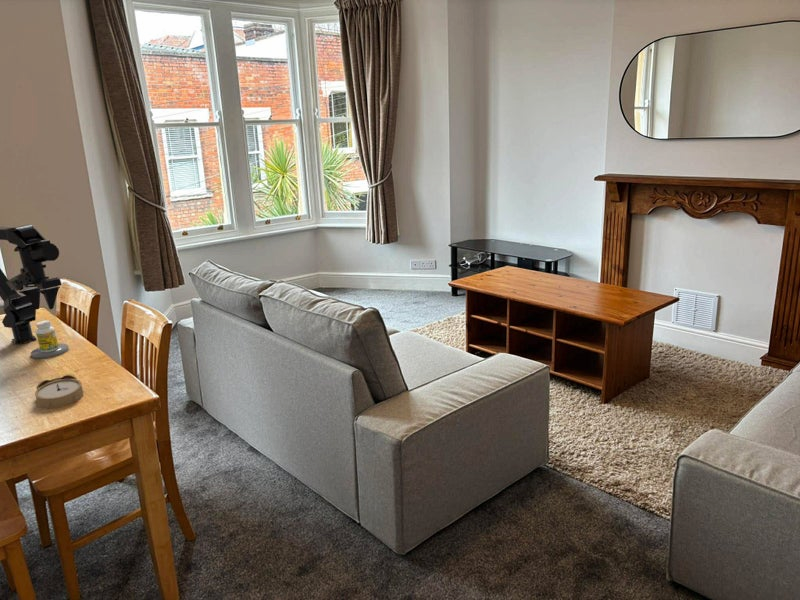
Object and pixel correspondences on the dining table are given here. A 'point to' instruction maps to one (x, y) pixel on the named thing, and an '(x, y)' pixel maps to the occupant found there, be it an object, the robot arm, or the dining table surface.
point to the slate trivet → (42, 355)
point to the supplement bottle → (46, 337)
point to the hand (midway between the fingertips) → (44, 309)
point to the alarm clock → (58, 392)
